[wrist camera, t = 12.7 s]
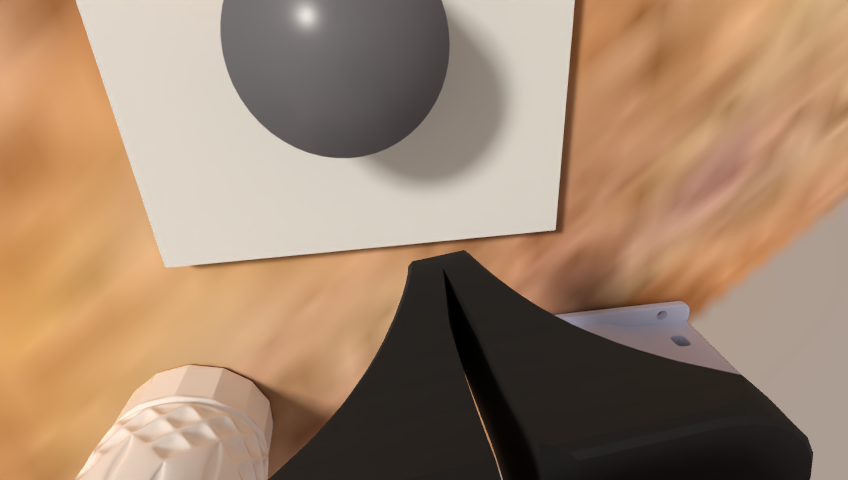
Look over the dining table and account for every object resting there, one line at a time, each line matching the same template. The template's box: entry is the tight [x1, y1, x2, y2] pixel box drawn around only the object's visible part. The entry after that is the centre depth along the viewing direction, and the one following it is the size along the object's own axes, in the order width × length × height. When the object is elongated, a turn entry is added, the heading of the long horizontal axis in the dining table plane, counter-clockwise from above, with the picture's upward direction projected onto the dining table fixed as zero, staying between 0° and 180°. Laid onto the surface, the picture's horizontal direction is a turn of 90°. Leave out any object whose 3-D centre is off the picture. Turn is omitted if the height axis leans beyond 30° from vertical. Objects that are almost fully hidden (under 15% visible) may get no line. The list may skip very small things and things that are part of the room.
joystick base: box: [76, 0, 575, 268], centre depth 16 cm, size 16×16×2 cm
